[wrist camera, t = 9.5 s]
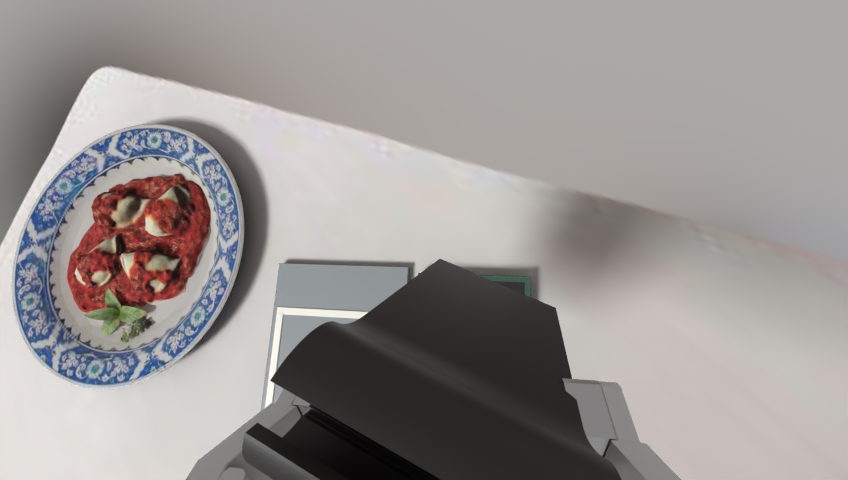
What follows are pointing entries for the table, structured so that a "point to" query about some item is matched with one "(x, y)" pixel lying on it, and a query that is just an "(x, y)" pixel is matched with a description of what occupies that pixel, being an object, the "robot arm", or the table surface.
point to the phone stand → (433, 392)
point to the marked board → (322, 305)
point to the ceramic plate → (128, 256)
